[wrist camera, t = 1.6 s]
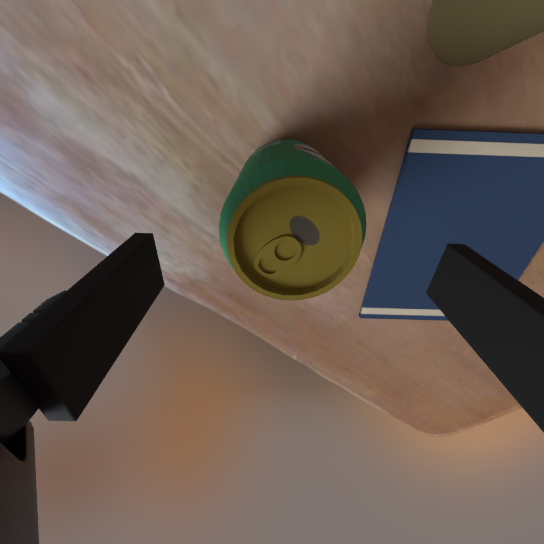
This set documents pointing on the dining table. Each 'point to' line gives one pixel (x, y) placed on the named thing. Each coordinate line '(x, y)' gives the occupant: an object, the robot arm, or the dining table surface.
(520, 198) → the towel
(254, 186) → the beverage can
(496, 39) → the olive game pawn
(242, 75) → the dining table surface
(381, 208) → the dining table surface
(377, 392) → the dining table surface
